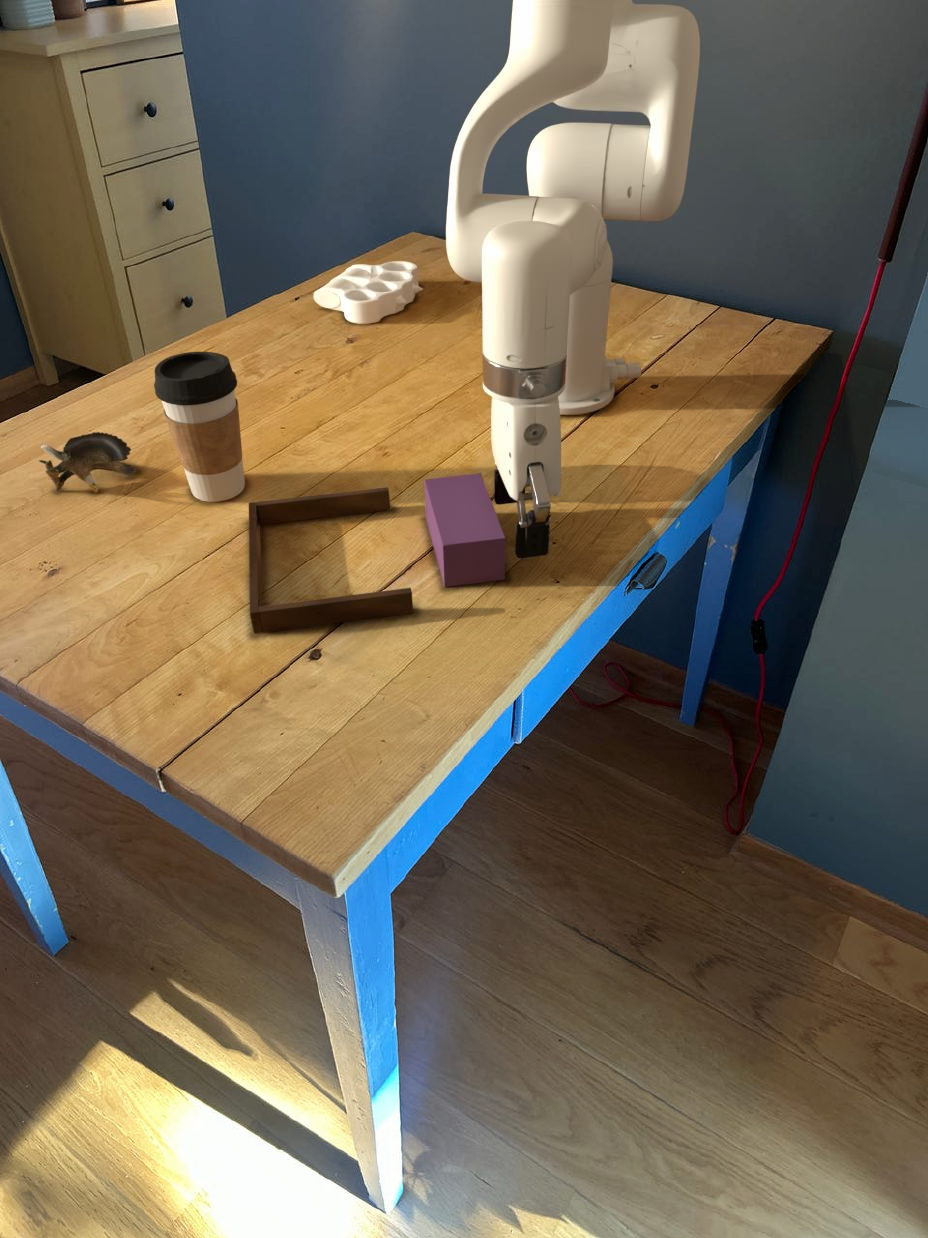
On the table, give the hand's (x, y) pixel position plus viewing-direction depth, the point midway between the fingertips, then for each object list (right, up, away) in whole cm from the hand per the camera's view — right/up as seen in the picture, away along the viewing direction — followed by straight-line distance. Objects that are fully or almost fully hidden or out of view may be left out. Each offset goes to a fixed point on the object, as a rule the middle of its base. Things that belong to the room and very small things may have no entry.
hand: (520, 527), depth 95 cm
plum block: (-6, -2, 0) cm, 6 cm away
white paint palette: (-20, +41, +52) cm, 69 cm away
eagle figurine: (-48, +6, +12) cm, 50 cm away
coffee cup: (-33, +5, +10) cm, 35 cm away
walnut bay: (-19, -4, -1) cm, 19 cm away
